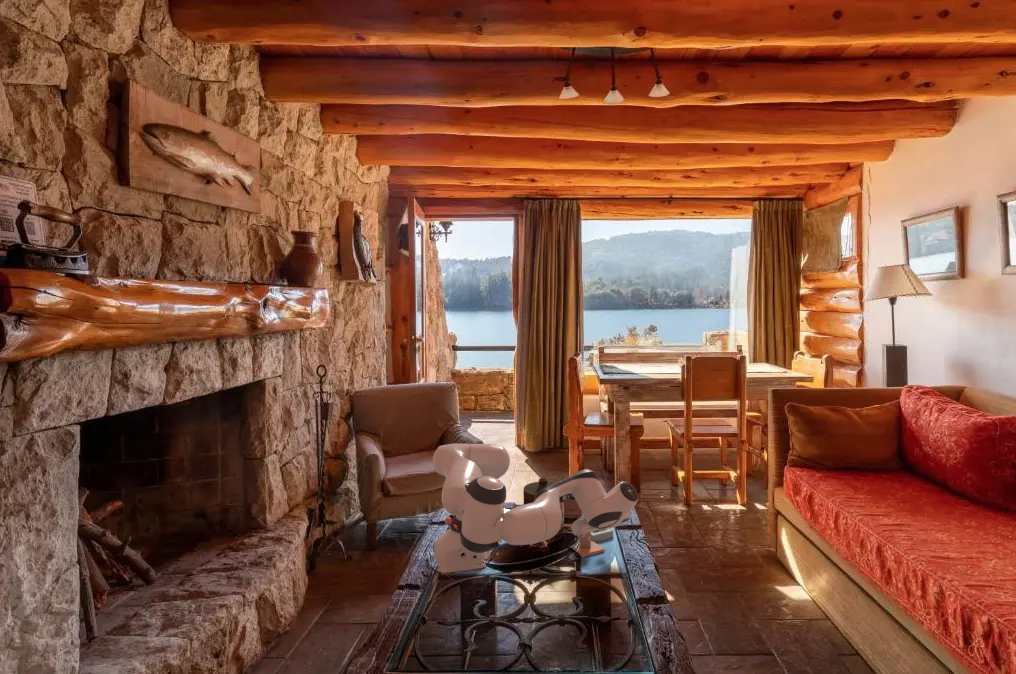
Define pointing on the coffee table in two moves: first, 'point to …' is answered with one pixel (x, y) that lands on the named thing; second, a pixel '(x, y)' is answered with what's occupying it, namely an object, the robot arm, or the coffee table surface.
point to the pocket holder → (601, 535)
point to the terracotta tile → (590, 550)
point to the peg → (585, 540)
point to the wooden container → (536, 487)
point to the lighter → (571, 507)
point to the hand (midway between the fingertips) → (589, 531)
